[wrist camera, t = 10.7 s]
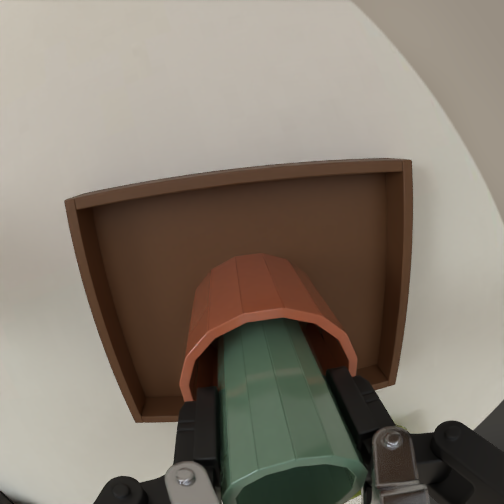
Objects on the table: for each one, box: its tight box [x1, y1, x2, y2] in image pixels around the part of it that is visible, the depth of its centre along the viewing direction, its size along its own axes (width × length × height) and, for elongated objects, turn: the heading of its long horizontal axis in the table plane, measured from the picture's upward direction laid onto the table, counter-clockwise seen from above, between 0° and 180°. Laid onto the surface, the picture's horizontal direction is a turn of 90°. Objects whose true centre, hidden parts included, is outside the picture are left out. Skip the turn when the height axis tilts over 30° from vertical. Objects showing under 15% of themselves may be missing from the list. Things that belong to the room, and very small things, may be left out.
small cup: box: [218, 318, 368, 504], centre depth 11 cm, size 4×4×9 cm
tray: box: [64, 158, 413, 423], centre depth 17 cm, size 17×14×3 cm
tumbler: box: [179, 253, 358, 402], centre depth 15 cm, size 7×7×7 cm
